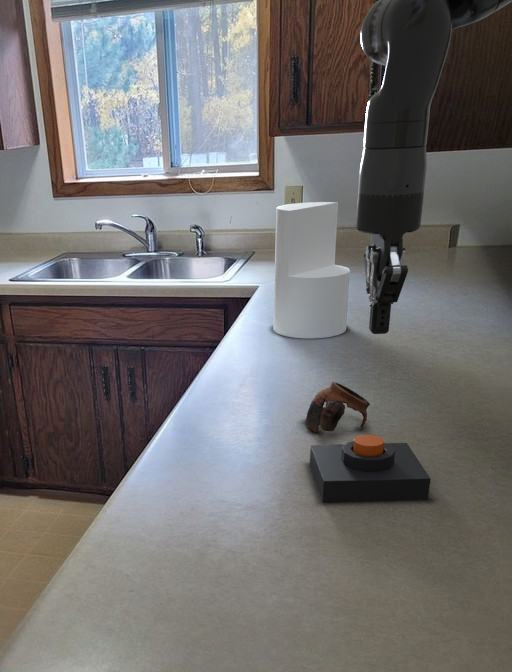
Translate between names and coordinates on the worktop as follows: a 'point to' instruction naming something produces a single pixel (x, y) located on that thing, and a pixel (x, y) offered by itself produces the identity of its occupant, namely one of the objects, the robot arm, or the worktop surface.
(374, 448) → the power button
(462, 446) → the worktop surface
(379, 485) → the push button base
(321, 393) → the broken clay vessel
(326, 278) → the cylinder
